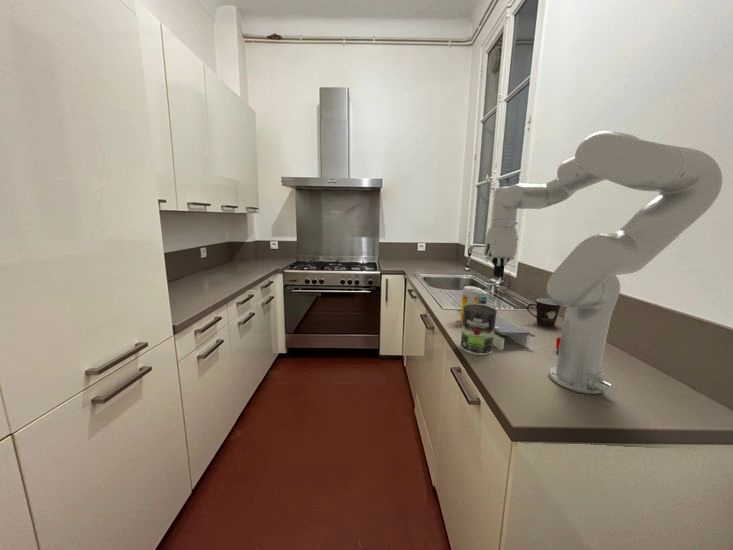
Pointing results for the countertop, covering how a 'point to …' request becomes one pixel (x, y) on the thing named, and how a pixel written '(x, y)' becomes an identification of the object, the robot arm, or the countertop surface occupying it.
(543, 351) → the countertop surface
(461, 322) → the coaster
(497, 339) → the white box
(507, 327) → the cover
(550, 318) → the coffee mug
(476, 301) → the beer can
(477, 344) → the coffee can
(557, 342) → the apple
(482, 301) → the light bulb box
